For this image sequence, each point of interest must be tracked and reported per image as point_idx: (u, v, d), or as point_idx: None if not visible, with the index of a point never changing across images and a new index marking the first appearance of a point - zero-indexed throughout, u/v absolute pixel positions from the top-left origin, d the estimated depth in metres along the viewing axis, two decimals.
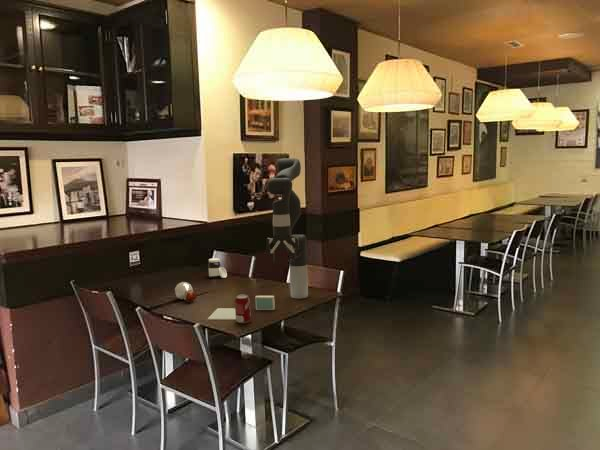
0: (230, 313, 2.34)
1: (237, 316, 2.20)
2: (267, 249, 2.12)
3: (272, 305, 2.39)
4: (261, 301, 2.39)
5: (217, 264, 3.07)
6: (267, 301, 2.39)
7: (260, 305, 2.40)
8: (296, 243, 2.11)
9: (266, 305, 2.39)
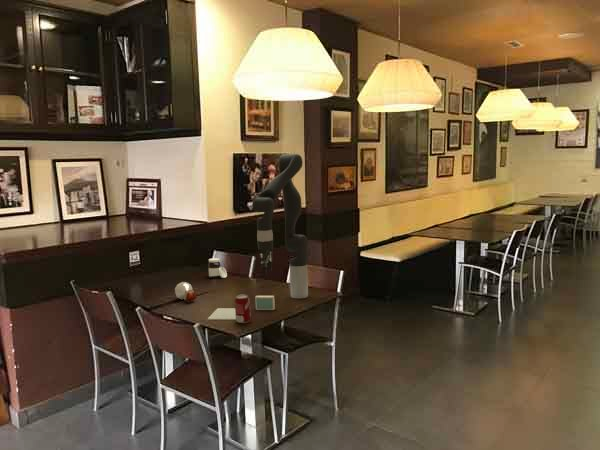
0: (230, 313, 2.34)
1: (237, 316, 2.20)
2: (264, 264, 2.28)
3: (272, 305, 2.39)
4: (261, 301, 2.39)
5: (217, 264, 3.07)
6: (267, 301, 2.39)
7: (260, 305, 2.40)
8: (272, 253, 2.40)
9: (266, 305, 2.39)
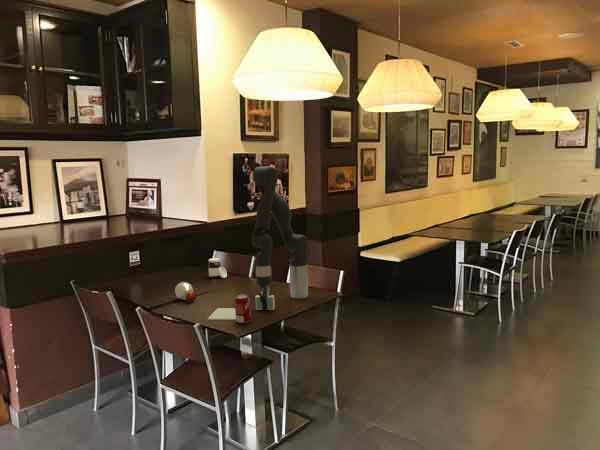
0: (230, 313, 2.34)
1: (237, 316, 2.20)
2: (265, 299, 2.36)
3: (272, 305, 2.39)
4: None
5: (217, 264, 3.07)
6: (267, 301, 2.39)
7: (260, 305, 2.40)
8: None
9: None
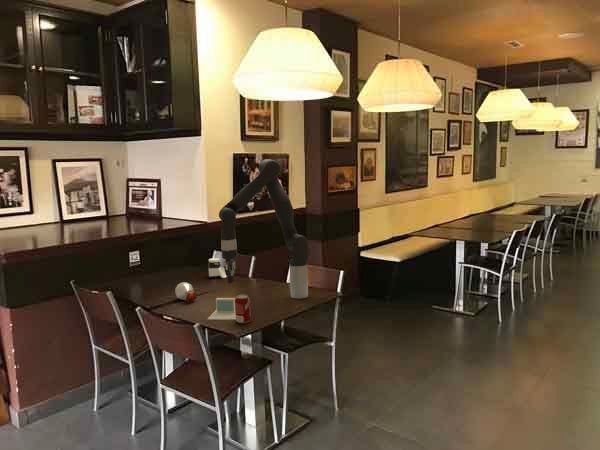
0: (230, 313, 2.34)
1: (237, 316, 2.20)
2: (231, 273, 2.39)
3: (233, 307, 2.35)
4: (222, 303, 2.36)
5: (217, 264, 3.07)
6: (228, 303, 2.35)
7: (221, 307, 2.36)
8: (235, 265, 2.47)
9: (227, 307, 2.36)
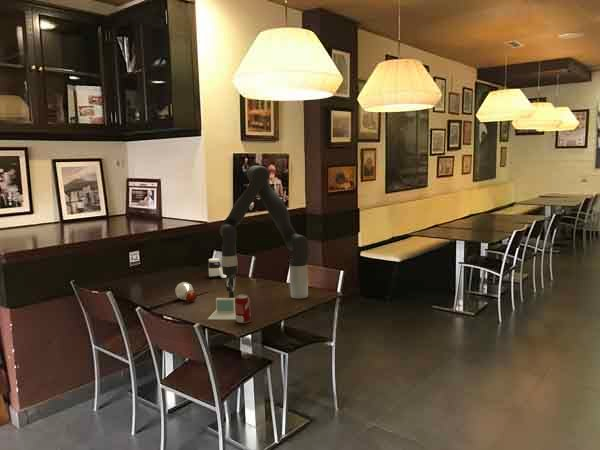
0: (230, 313, 2.34)
1: (237, 316, 2.20)
2: (232, 288, 2.40)
3: (233, 307, 2.35)
4: (222, 303, 2.36)
5: (217, 264, 3.07)
6: (228, 303, 2.35)
7: (221, 307, 2.36)
8: (235, 281, 2.47)
9: (227, 307, 2.36)
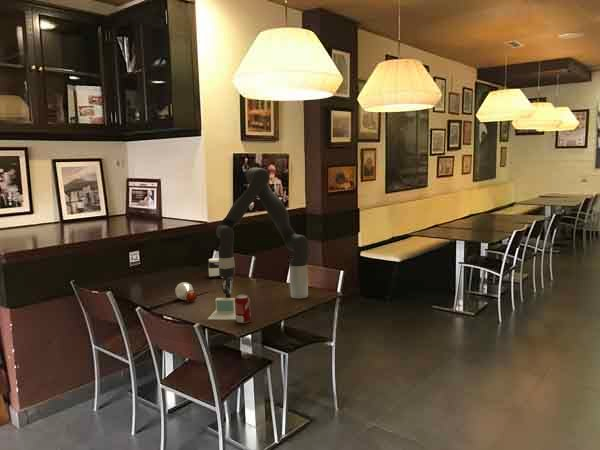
0: (230, 313, 2.34)
1: (237, 316, 2.20)
2: (228, 291, 2.36)
3: (233, 307, 2.35)
4: (221, 304, 2.35)
5: (217, 264, 3.07)
6: (228, 304, 2.35)
7: (220, 307, 2.36)
8: (232, 284, 2.42)
9: (226, 307, 2.35)
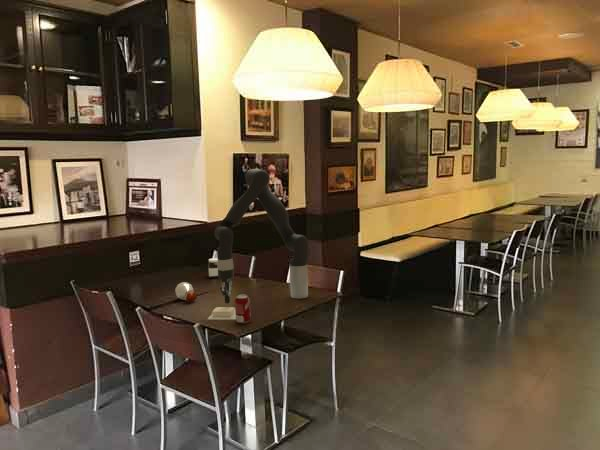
0: None
1: (237, 316, 2.20)
2: (227, 293, 2.33)
3: None
4: None
5: None
6: None
7: None
8: (231, 285, 2.39)
9: None
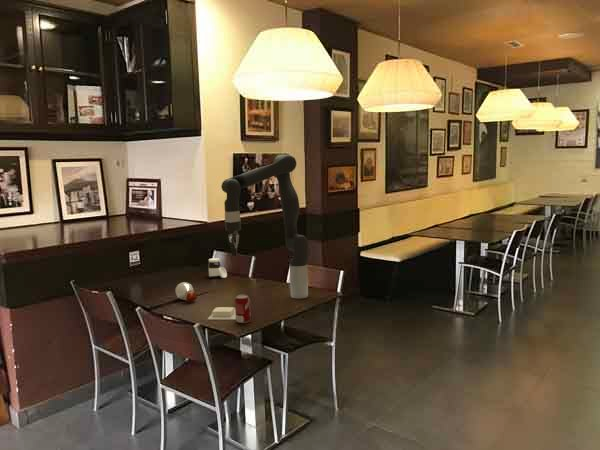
0: None
1: (237, 316, 2.20)
2: (235, 245, 2.36)
3: None
4: None
5: (217, 264, 3.07)
6: None
7: None
8: (238, 239, 2.42)
9: None
